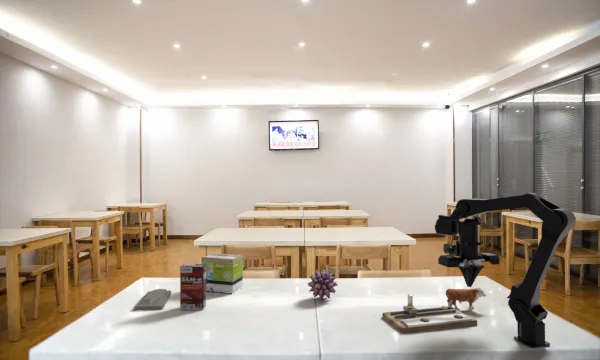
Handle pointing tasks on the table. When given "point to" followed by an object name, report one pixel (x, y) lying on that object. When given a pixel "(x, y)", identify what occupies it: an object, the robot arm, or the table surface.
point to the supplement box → (192, 286)
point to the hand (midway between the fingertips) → (469, 286)
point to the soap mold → (154, 300)
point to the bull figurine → (464, 296)
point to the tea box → (223, 272)
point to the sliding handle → (410, 305)
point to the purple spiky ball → (322, 284)
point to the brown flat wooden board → (429, 319)
